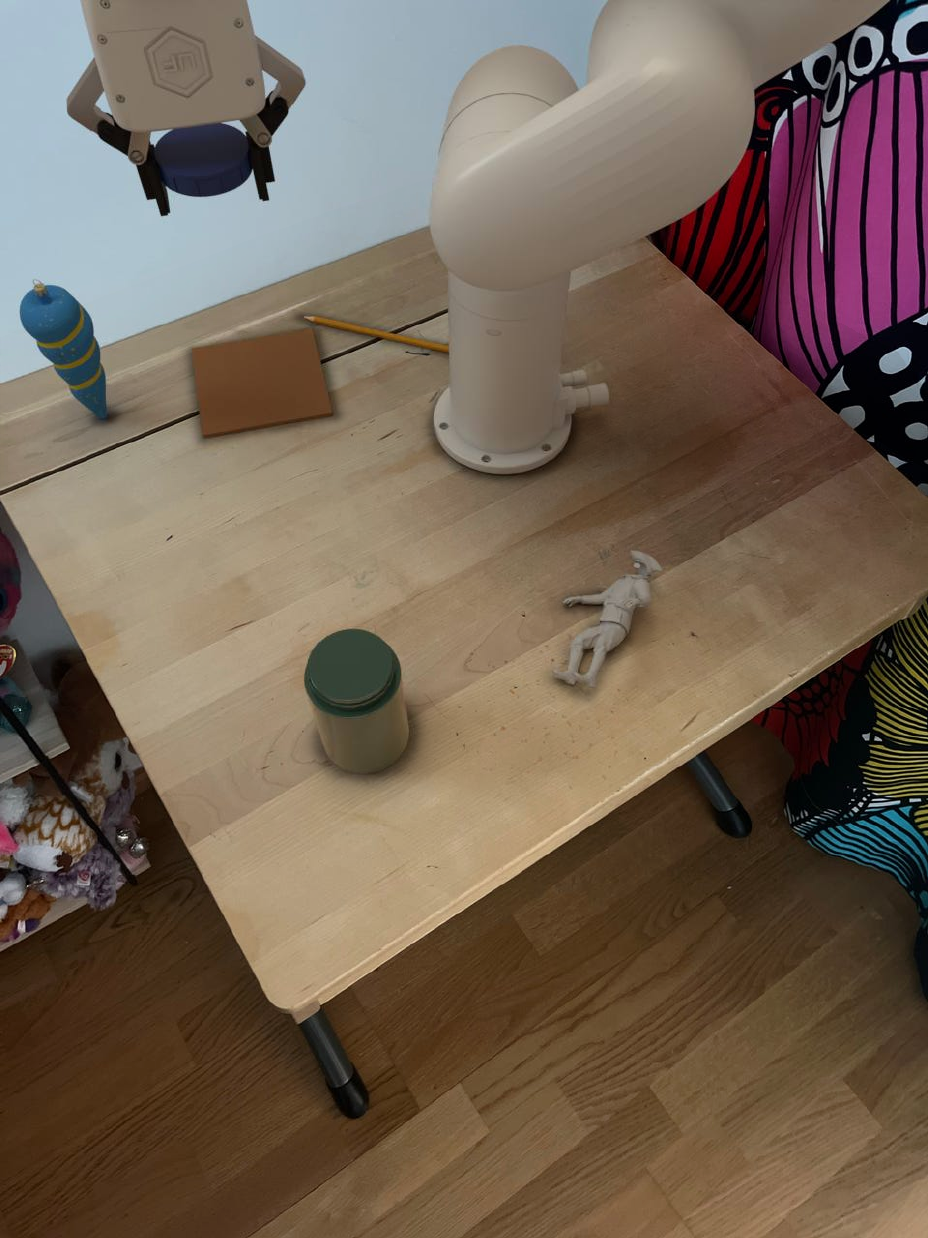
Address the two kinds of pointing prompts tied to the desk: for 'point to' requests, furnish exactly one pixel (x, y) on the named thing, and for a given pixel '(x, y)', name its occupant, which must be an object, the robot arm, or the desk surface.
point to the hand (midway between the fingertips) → (213, 195)
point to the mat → (259, 383)
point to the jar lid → (203, 159)
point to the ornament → (67, 342)
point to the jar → (357, 700)
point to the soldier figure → (609, 619)
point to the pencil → (378, 333)
